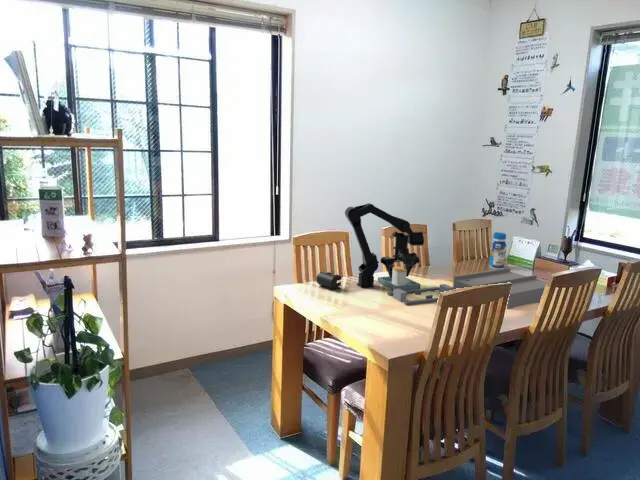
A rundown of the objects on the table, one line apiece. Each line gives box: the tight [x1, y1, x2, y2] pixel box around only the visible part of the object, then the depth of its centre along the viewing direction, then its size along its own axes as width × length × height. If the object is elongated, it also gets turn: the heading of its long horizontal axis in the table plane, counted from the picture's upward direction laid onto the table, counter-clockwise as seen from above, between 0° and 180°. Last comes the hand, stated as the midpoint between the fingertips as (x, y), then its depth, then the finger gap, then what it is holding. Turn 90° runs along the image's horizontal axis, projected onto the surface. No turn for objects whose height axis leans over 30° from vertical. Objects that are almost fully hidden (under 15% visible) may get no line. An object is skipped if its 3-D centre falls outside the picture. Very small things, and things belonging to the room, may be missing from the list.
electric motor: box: [316, 271, 342, 291], centre depth 234 cm, size 10×7×7 cm
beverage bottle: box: [488, 232, 507, 270], centre depth 284 cm, size 8×8×20 cm
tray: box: [377, 275, 421, 291], centre depth 242 cm, size 14×17×2 cm
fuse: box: [392, 266, 407, 286], centre depth 241 cm, size 4×6×8 cm, turn 24°
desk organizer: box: [452, 267, 548, 310], centre depth 236 cm, size 32×40×7 cm
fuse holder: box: [386, 283, 454, 306], centre depth 225 cm, size 28×16×4 cm, turn 114°
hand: (399, 277), depth 241 cm, fingers open, 9 cm apart
